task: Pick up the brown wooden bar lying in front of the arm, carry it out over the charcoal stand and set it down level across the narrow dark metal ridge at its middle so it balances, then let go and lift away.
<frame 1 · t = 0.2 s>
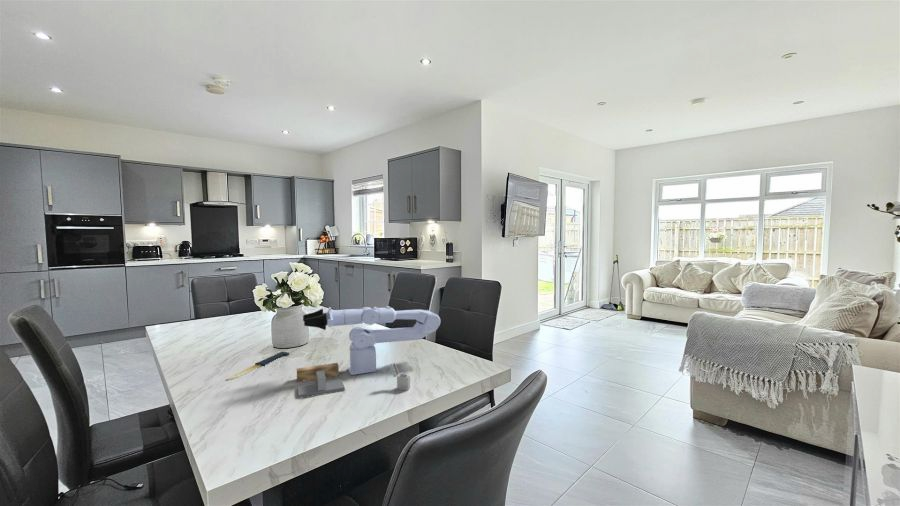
hand: (303, 320, 130), 21 cm above the table, tool horizontal, fingers open, 7 cm apart
bar: (318, 377, 133), on the table
lighter: (399, 388, 123), on the table
stand: (321, 389, 122), on the table
knife: (259, 368, 145), on the table
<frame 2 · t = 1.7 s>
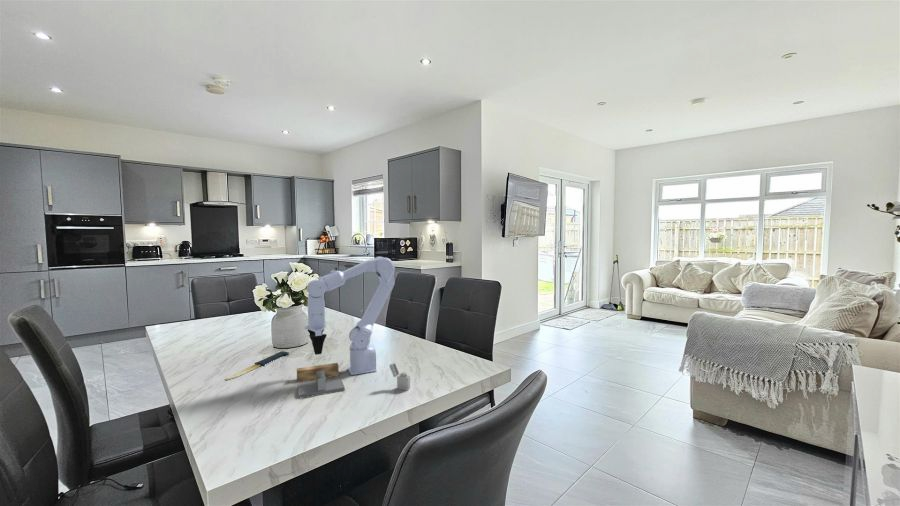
hand: (317, 351, 132), 10 cm above the table, tool pointing down, fingers open, 7 cm apart
nothing on the table moved.
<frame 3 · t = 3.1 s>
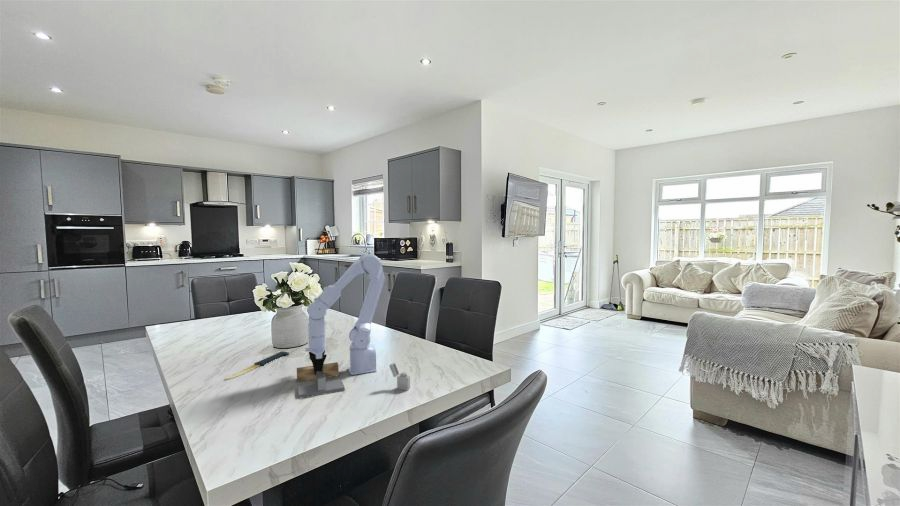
hand: (317, 372, 133), 2 cm above the table, tool pointing down, fingers closed on bar, 3 cm apart
bar: (318, 377, 133), on the table, touching gripper
everything else where it was.
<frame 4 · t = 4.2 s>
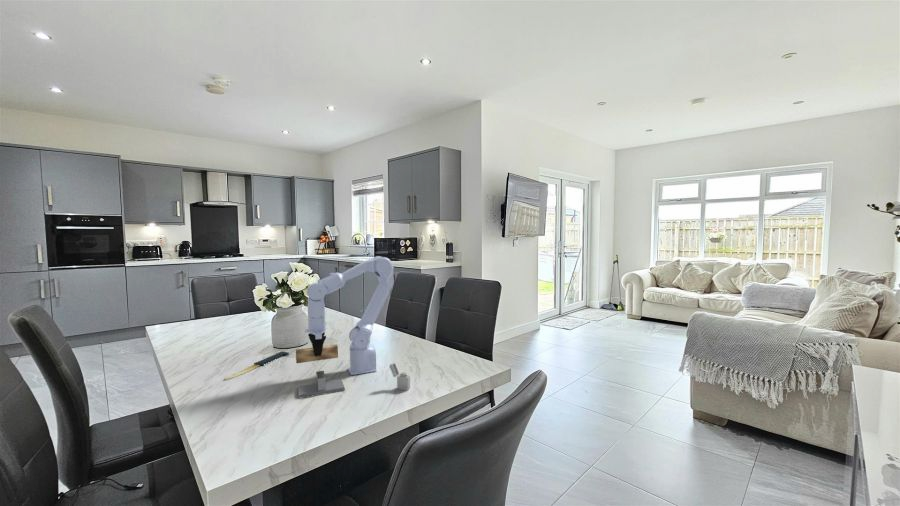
hand: (317, 354, 132), 8 cm above the table, tool pointing down, fingers closed on bar, 3 cm apart
bar: (317, 359, 132), point 7 cm above the table, touching gripper
everything else where it was.
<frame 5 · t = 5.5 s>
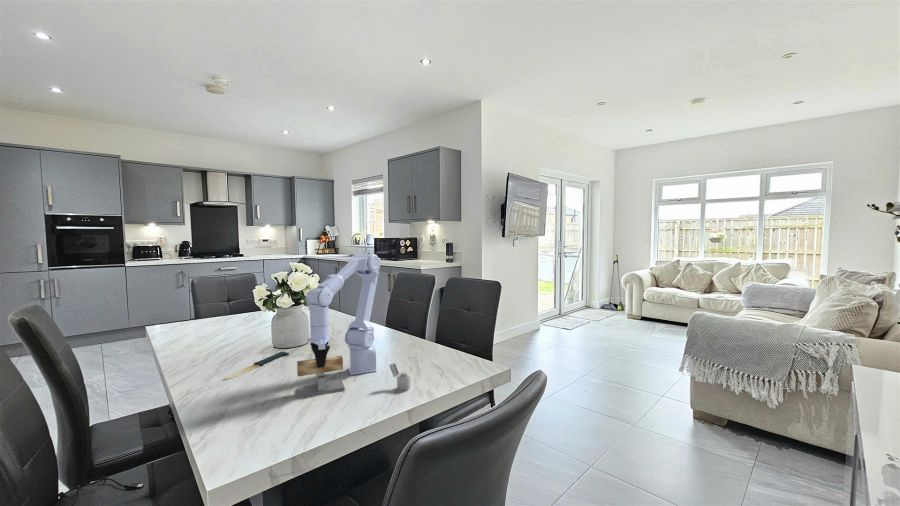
hand: (320, 365, 121), 8 cm above the table, tool pointing down, fingers closed on bar, 3 cm apart
bar: (320, 371, 122), point 6 cm above the table, touching gripper
everything else where it was.
when the fingers open (7 cm above the table, at t = 6.3 s): bar stays where it is, resting on stand.
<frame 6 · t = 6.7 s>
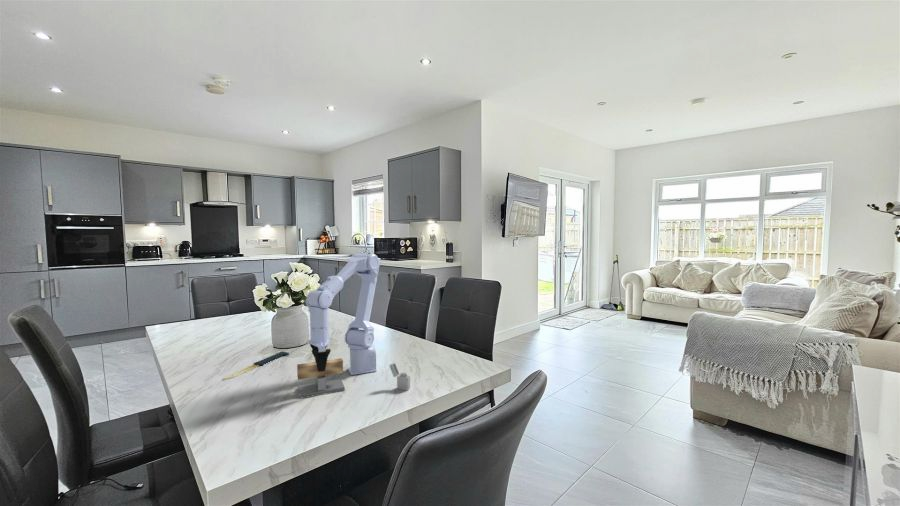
hand: (320, 367, 121), 7 cm above the table, tool pointing down, fingers open, 6 cm apart
bar: (320, 374, 122), point 5 cm above the table, touching stand
everything else where it was.
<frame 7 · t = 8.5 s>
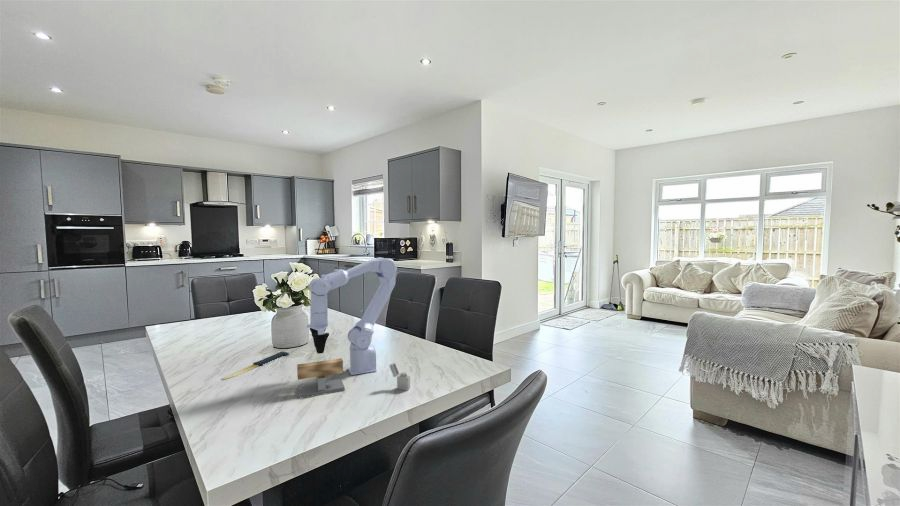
hand: (319, 350, 131), 10 cm above the table, tool pointing down, fingers open, 7 cm apart
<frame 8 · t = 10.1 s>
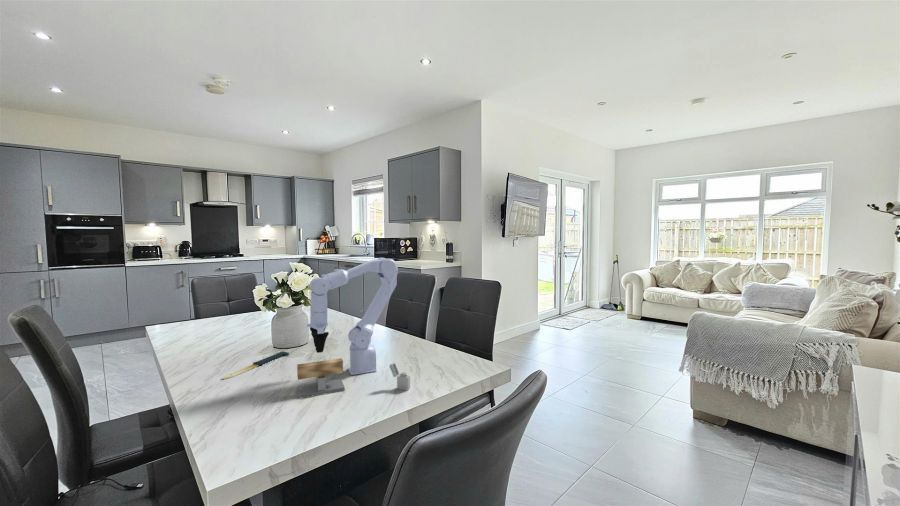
hand: (318, 349, 132), 10 cm above the table, tool pointing down, fingers open, 7 cm apart
at the end: bar 0.1 cm from the target spot, point 5.0 cm above the table; bar tilted 0°; the gripper is holding nothing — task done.
